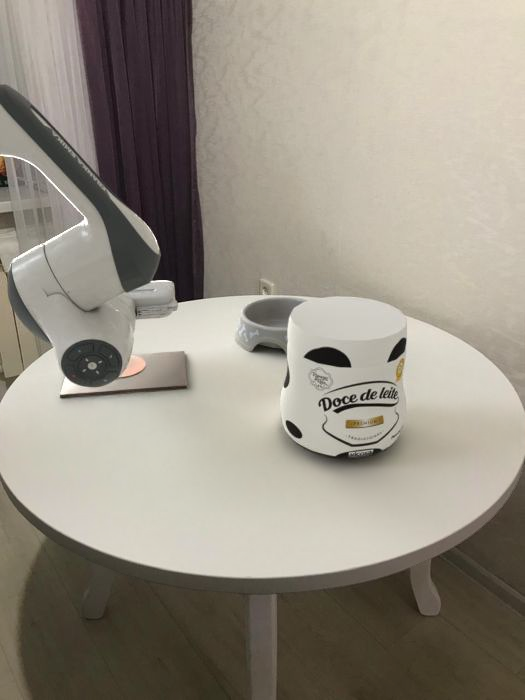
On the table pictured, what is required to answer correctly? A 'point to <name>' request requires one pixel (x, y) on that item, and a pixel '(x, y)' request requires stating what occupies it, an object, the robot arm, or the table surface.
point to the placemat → (139, 376)
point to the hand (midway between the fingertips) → (111, 283)
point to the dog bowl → (266, 322)
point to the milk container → (344, 376)
